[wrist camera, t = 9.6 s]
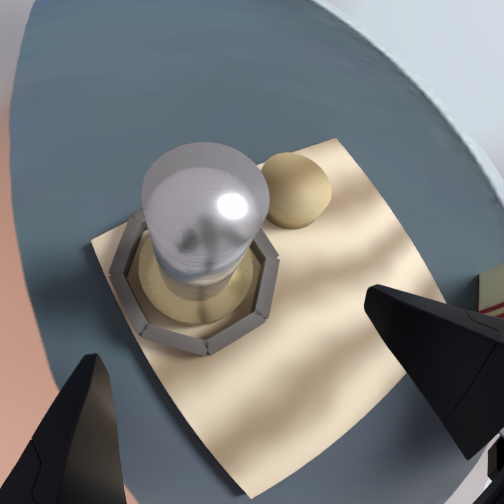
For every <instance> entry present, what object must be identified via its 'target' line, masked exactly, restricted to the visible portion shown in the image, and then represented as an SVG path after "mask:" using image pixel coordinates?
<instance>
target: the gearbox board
mask: <svg viewBox="0 0 504 504" xmlns="http://www.w3.org/2000/svg"><path fill="white" fill-rule="evenodd" d="M257 167H258V168H259V169H260V171H261V172H262V174H263V176H264V178H265V180H266V182H267V186H268V189H269V199H270V202H269V209H268V213H267V216H266V218H265V220H264V223H263V224H262V226H261V228H260V229H259V231H258V233H257V234H256V236H255V238H254V240H253V241H252V243H251V245H250V246H249V250H250V253H251V257H252V263H253V275H252V281H251V285H250V288H249V290H248V292H247V294H246V296H245V298H244V299H243V301H242V302H241V303H240V304H239V305H238V307H236V308H235V309H234V310H233V311H232V312H231V313H230V314H229V315H228V316H226V317H225V318H223V319H222V320H220V321H218V322H216V323H213V324H210V325H205V326H186V325H181V324H179V323H176V322H173V321H171V320H169V319H168V318H166V317H165V316H163V315H162V314H161V313H160V312H159V311H158V310H157V309H156V308H155V307H154V306H153V305H152V303H151V302H150V300H149V299H148V297H147V295H146V294H145V292H144V290H143V287H142V285H141V281H140V277H139V257H140V253H141V250H142V247H143V245H144V243H145V241H146V239H147V238H148V236H149V231H148V227H147V223H146V219H145V215H144V211H143V209H141V210H139V211H137V212H135V213H133V215H134V217H130V218H129V220H128V222H126V223H124V224H122V225H120V226H118V227H116V228H114V229H112V230H110V231H108V232H106V233H104V234H102V235H100V236H98V237H96V238H95V239H93V240H91V242H92V245H93V247H94V250H95V253H96V255H97V258H98V260H99V262H100V265H101V267H102V270H103V272H104V274H105V276H106V279H107V281H108V283H109V285H110V288H111V290H112V292H113V294H114V296H115V298H116V301H117V303H118V305H119V307H120V309H121V311H122V313H123V315H124V317H125V319H126V321H127V323H128V325H129V327H130V329H131V330H132V332H133V334H134V336H135V338H136V340H137V342H138V343H139V345H140V347H141V349H142V351H143V352H144V354H145V356H146V358H147V359H148V361H149V363H150V365H151V366H152V368H153V370H154V371H155V373H156V375H157V376H158V378H159V379H160V381H161V383H162V384H163V386H164V387H165V389H166V390H167V392H168V394H169V395H170V397H171V398H172V400H173V401H174V403H175V404H176V406H177V407H178V409H179V410H180V411H181V413H182V414H183V416H184V417H185V419H186V420H187V421H188V423H189V424H190V426H191V427H192V428H193V430H194V431H195V432H196V434H197V435H198V436H199V438H200V439H201V440H202V442H203V443H204V444H205V446H206V447H207V448H208V449H209V451H210V452H211V453H212V454H213V456H214V457H215V458H216V459H217V461H218V462H219V463H220V464H221V465H222V467H223V468H224V469H225V470H226V471H227V472H228V474H229V475H230V476H231V477H232V478H233V479H234V480H235V482H236V483H237V484H238V485H239V486H240V487H241V488H242V489H243V490H244V491H245V493H246V494H247V495H248V496H249V497H250V498H251V499H252V498H253V497H255V496H257V495H259V494H260V493H262V492H264V491H266V490H267V489H269V488H270V487H272V486H274V485H275V484H277V483H278V482H280V481H282V480H283V479H285V478H286V477H288V476H289V475H291V474H292V473H294V472H295V471H297V470H298V469H299V468H301V467H302V466H304V465H305V464H306V463H308V462H309V461H311V460H312V459H313V458H315V457H316V456H317V455H319V454H320V453H321V452H323V451H324V450H325V449H326V448H328V447H329V446H330V445H331V444H333V443H334V442H335V441H336V440H337V439H339V438H340V437H341V436H342V435H343V434H345V433H346V432H347V431H348V430H349V429H350V428H352V427H353V426H354V425H355V424H356V423H357V422H358V421H359V420H360V419H362V418H363V417H364V416H365V415H366V414H367V413H368V412H369V411H370V410H371V409H372V408H373V407H374V406H375V405H376V404H377V403H378V402H379V401H380V400H381V399H382V398H383V397H384V396H385V395H386V394H387V393H388V392H389V391H390V390H391V389H392V388H393V387H394V386H395V385H396V384H397V383H398V382H399V380H400V379H401V378H402V377H403V376H404V375H405V374H406V371H405V370H404V369H403V367H402V366H401V364H400V363H399V362H398V360H397V359H396V358H395V356H394V355H393V354H392V352H391V351H390V350H389V349H388V347H387V346H386V344H385V343H384V342H383V340H382V338H381V337H380V335H379V334H378V332H377V330H376V329H375V327H374V326H373V324H372V322H371V321H370V319H369V318H368V316H367V314H366V313H365V311H364V301H365V297H366V292H367V289H368V287H370V286H373V285H375V284H380V285H384V286H387V287H391V288H394V289H398V290H401V291H404V292H408V293H411V294H415V295H418V296H422V297H425V298H429V299H432V300H436V301H439V302H443V303H446V302H445V300H444V298H443V296H442V294H441V292H440V290H439V288H438V286H437V284H436V283H435V281H434V279H433V277H432V275H431V274H430V272H429V270H428V268H427V266H426V265H425V263H424V261H423V260H422V258H421V256H420V254H419V253H418V251H417V249H416V248H415V246H414V245H413V243H412V241H411V240H410V238H409V237H408V235H407V233H406V232H405V230H404V229H403V227H402V226H401V224H400V223H399V221H398V220H397V218H396V217H395V215H394V214H393V212H392V211H391V209H390V208H389V206H388V205H387V204H386V202H385V201H384V199H383V198H382V197H381V195H380V194H379V192H378V191H377V190H376V188H375V187H374V186H373V184H372V183H371V181H370V180H369V179H368V178H367V176H366V175H365V174H364V172H363V171H362V170H361V168H360V167H359V166H358V165H357V163H356V162H355V161H354V160H353V158H352V157H351V156H350V155H349V153H348V152H347V151H346V150H345V149H344V147H343V146H342V145H341V144H340V143H339V141H338V140H337V139H336V138H335V139H332V140H329V141H326V142H322V143H319V144H316V145H313V146H310V147H307V148H304V149H301V150H298V151H295V152H292V153H280V154H276V155H274V156H272V157H270V158H269V159H268V160H267V161H266V162H265V163H262V164H259V165H257Z"/></svg>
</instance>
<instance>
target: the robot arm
mask: <svg viewBox="0 0 504 504" xmlns="http://www.w3.org/2000/svg"><path fill="white" fill-rule="evenodd" d="M364 311H365V313H366V314H367V316H368V318H369V319H370V321H371V322H372V324H373V326H374V327H375V329H376V330H377V332H378V334H379V335H380V337H381V338H382V340H383V342H384V343H385V344H386V346H387V347H388V349H389V350H390V351H391V352H392V354H393V355H394V356H395V358H396V359H397V360H398V362H399V363H400V364H401V366H402V367H403V369H404V370H405V371H406V373H407V374H408V375H409V377H410V378H411V379H412V381H413V382H414V384H415V385H416V386H417V388H418V389H419V390H420V392H421V393H422V395H423V396H424V397H425V399H426V400H427V402H428V403H429V405H430V406H431V407H432V409H433V410H434V412H435V413H436V415H437V416H438V417H439V419H440V420H441V422H443V423H442V424H443V425H444V427H445V428H446V429H447V431H448V432H449V434H450V435H451V437H452V438H453V440H454V441H455V443H456V445H457V446H458V448H459V449H460V451H461V452H462V454H463V455H464V457H465V458H466V459H467V460H470V459H471V458H472V457H473V456H474V455H475V454H476V453H478V452H479V451H480V450H481V449H482V448H483V447H484V446H485V445H486V444H487V443H489V442H490V441H491V440H492V439H493V438H494V437H495V436H496V435H497V434H498V433H499V434H500V437H499V438H498V439H497V440H496V442H495V443H494V444H493V445H492V447H491V448H490V449H489V450H488V477H489V478H490V479H491V480H492V482H491V484H490V485H489V486H488V487H487V488H486V489H485V491H484V492H483V493H482V494H481V495H480V496H479V497H478V498H477V499H476V501H475V502H474V503H473V504H504V319H503V318H498V317H494V316H489V315H485V314H481V313H477V312H474V311H470V310H467V309H462V308H460V307H456V306H453V305H449V304H446V303H443V302H439V301H436V300H432V299H429V298H425V297H422V296H418V295H415V294H411V293H408V292H404V291H401V290H398V289H394V288H391V287H387V286H384V285H380V284H375V285H373V286H370V287H368V289H367V292H366V297H365V301H364ZM0 504H127V502H126V497H125V491H124V485H123V479H122V472H121V464H120V455H119V446H118V435H117V423H116V417H115V411H114V405H113V399H112V392H111V385H110V378H109V374H108V372H107V370H106V368H105V366H104V364H103V362H102V360H101V358H100V356H99V355H98V354H96V353H94V354H87V355H85V356H84V357H83V358H82V360H81V361H80V362H79V364H78V365H77V367H76V368H75V370H74V371H73V373H72V374H71V376H70V377H69V379H68V380H67V382H66V383H65V385H64V386H63V388H62V389H61V391H60V392H59V394H58V396H57V397H56V398H55V400H54V402H53V403H52V405H51V406H50V408H49V410H48V411H47V413H46V414H45V416H44V418H43V419H42V421H41V423H40V424H39V426H38V428H37V429H36V431H35V433H34V434H33V436H32V440H30V441H29V443H28V445H27V446H26V449H25V450H24V452H23V453H22V455H21V457H20V459H19V460H18V462H17V463H16V465H15V467H14V468H13V470H12V471H11V473H10V474H9V476H8V477H7V479H6V480H5V482H4V483H3V485H2V487H1V488H0Z"/></svg>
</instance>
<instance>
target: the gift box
mask: <svg viewBox="0 0 504 504" xmlns="http://www.w3.org/2000/svg"><path fill="white" fill-rule="evenodd" d="M478 313H481V314H485V315H489V316H494V317H498V318H503V319H504V263H503V264H501V265H498V266H496V267H494V268H492V269H490V270H487V271H485V272H483V273H480V274H479V301H478Z"/></svg>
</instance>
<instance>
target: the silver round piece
mask: <svg viewBox="0 0 504 504" xmlns="http://www.w3.org/2000/svg"><path fill="white" fill-rule="evenodd" d="M141 201H142V207H143V211H144V215H145V219H146V223H147V227H148V231H149V236H148V238H147V239H146V241H145V243H144V245H143V247H142V250H141V253H140V257H139V277H140V281H141V285H142V287H143V290H144V292H145V294H146V295H147V297H148V299H149V300H150V302H151V303H152V305H153V306H154V307H155V308H156V309H157V310H158V311H159V312H160V313H161V314H162V315H163V316H165V317H166V318H168V319H169V320H171V321H173V322H176V323H179V324H181V325H186V326H205V325H210V324H213V323H216V322H218V321H220V320H222V319H223V318H225V317H226V316H228V315H229V314H230V313H231V312H232V311H233V310H234V309H235V308H236V307H238V305H239V304H240V303H241V302H242V301H243V299H244V298H245V296H246V294H247V292H248V290H249V288H250V285H251V281H252V275H253V263H252V257H251V253H250V250H249V246H250V245H251V243H252V241H253V240H254V238H255V236H256V234H257V233H258V231H259V229H260V228H261V226H262V224H263V223H264V220H265V218H266V216H267V213H268V209H269V202H270V199H269V189H268V186H267V182H266V180H265V178H264V176H263V174H262V172H261V171H260V169H259V168H258V167H257V166H256V165H255V163H254V162H253V161H251V160H250V159H249V158H248V157H247V156H245V155H244V154H242V153H241V152H239V151H237V150H235V149H233V148H231V147H228V146H225V145H221V144H217V143H209V142H198V143H190V144H185V145H182V146H179V147H176V148H174V149H172V150H170V151H168V152H167V153H165V154H164V155H162V156H161V157H160V158H159V159H158V160H157V161H156V162H155V163H154V164H153V165H152V166H151V168H150V169H149V171H148V172H147V174H146V176H145V179H144V181H143V185H142V191H141Z"/></svg>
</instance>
